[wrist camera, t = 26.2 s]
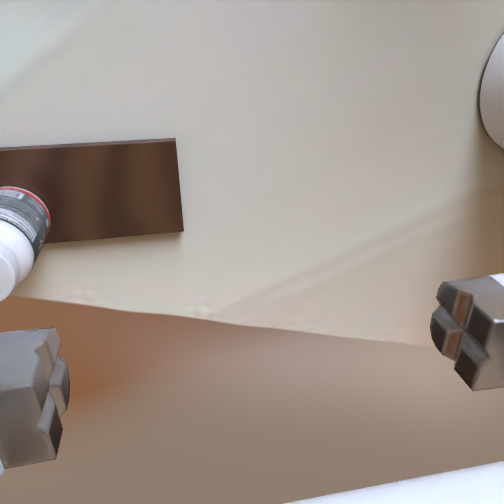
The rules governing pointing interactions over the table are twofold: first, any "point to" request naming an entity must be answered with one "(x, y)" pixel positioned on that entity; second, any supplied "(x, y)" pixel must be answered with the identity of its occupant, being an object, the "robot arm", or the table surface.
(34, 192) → the walnut board
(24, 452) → the robot arm
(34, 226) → the pill bottle
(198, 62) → the table surface
